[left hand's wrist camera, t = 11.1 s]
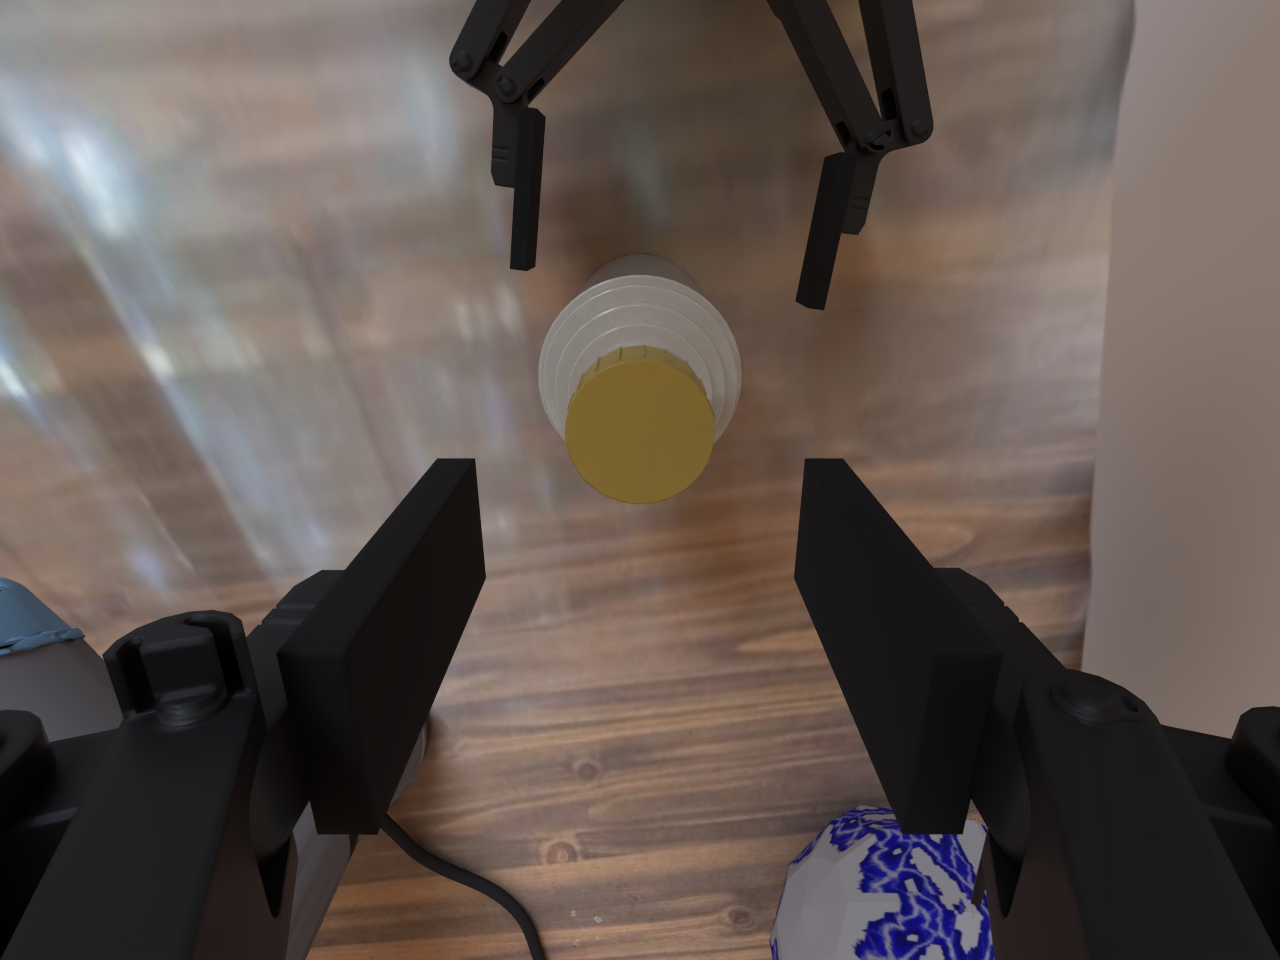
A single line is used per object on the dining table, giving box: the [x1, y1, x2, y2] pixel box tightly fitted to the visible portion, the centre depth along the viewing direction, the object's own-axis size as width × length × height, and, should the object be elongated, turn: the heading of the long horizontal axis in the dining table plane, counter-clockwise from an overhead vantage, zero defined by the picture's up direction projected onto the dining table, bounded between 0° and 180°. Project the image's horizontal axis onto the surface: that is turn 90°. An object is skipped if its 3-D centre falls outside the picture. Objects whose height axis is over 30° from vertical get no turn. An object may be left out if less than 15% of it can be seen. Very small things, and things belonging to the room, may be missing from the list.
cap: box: [565, 344, 715, 504], centre depth 21 cm, size 4×4×2 cm
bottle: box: [538, 254, 742, 444], centre depth 30 cm, size 8×8×20 cm
